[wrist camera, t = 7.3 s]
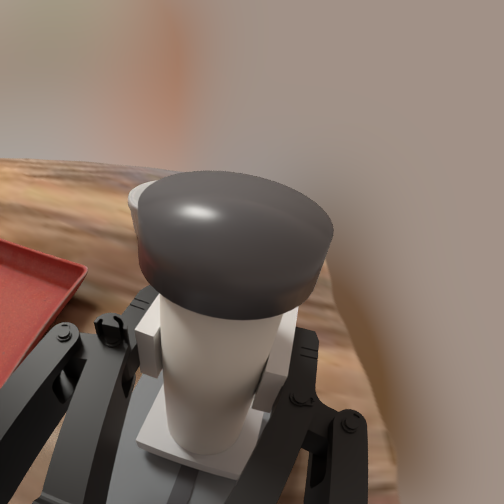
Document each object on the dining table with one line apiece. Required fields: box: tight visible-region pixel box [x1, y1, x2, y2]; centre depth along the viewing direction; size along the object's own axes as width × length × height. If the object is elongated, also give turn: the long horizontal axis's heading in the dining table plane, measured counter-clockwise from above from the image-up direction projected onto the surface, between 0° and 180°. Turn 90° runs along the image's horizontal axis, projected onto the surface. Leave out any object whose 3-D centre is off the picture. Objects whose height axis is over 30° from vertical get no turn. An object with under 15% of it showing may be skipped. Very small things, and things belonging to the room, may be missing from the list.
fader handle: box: [136, 171, 334, 480], centre depth 12 cm, size 5×6×14 cm
